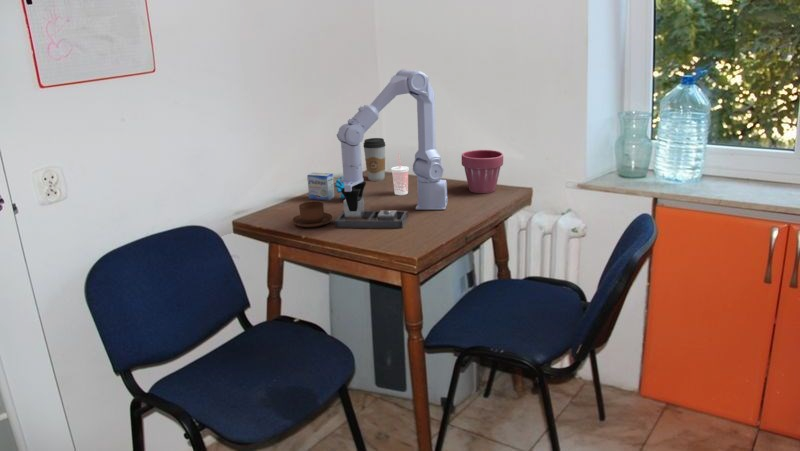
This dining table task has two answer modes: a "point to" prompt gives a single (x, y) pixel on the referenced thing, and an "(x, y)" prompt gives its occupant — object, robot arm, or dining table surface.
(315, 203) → the cup and saucer
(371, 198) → the dining table surface
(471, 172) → the plant pot
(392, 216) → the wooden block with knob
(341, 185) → the gear
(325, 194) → the medicine box
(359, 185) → the robot arm
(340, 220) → the grey flat rectangular frame
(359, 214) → the grey square block
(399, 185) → the beverage cup
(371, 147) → the coffee cup
